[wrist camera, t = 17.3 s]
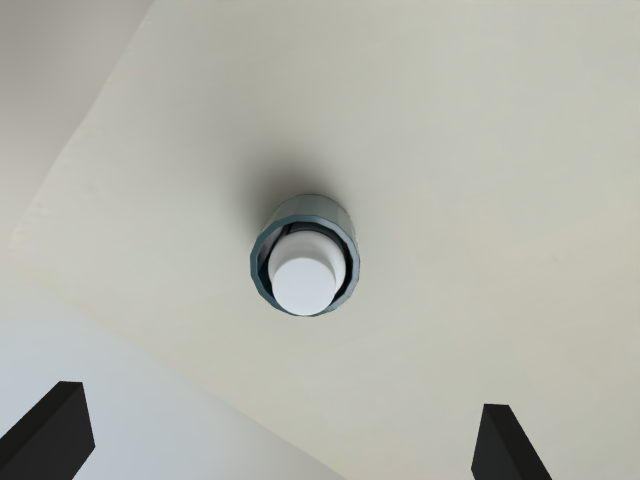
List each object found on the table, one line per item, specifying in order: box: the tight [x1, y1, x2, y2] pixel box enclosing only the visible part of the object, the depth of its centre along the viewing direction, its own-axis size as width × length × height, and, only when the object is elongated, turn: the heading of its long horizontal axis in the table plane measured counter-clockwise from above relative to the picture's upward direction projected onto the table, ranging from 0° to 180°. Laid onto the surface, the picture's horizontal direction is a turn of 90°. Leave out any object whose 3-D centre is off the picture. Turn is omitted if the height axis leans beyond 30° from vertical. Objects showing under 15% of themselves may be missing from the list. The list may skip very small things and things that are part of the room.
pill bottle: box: [268, 222, 346, 316], centre depth 28 cm, size 5×5×10 cm
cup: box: [250, 194, 360, 317], centre depth 30 cm, size 8×8×7 cm
